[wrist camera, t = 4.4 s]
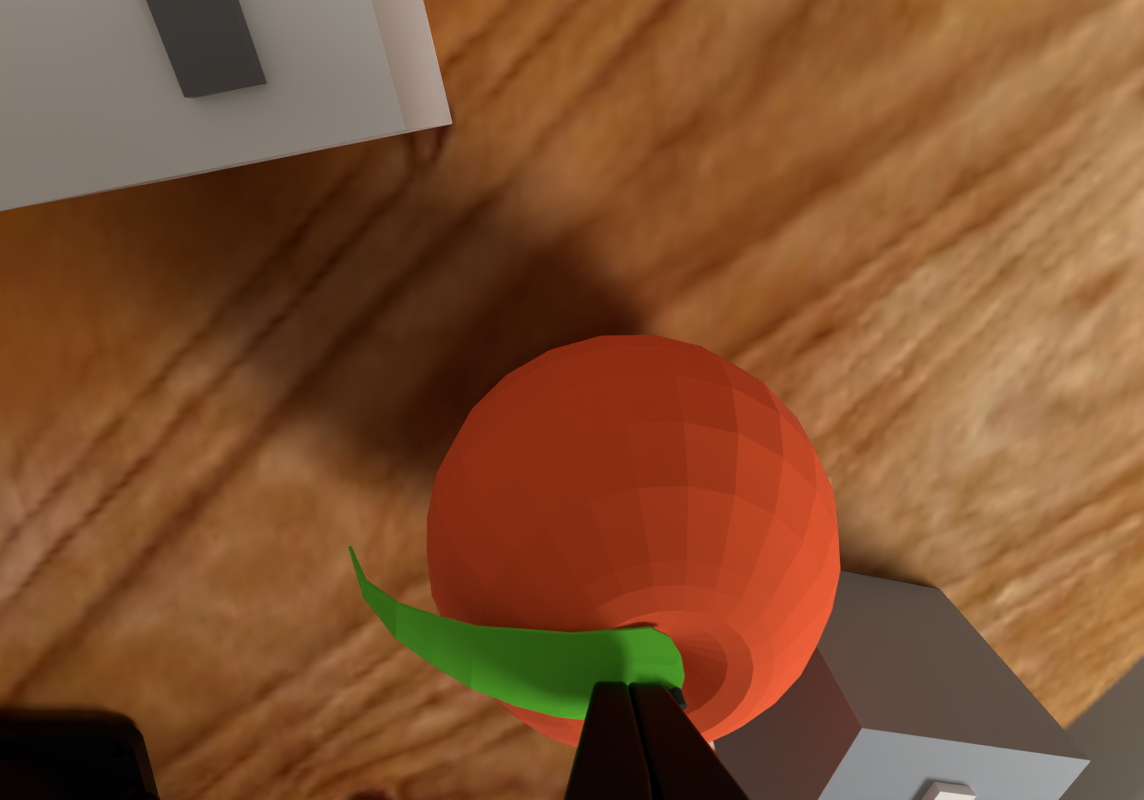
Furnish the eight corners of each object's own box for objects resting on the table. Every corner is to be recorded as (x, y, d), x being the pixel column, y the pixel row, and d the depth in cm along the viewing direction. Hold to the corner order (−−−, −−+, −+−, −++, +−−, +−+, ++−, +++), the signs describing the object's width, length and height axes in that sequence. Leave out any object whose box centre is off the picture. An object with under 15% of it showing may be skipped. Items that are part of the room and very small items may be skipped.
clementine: (396, 552, 15) (301, 876, 9) (403, 263, 12) (272, 424, 6) (719, 573, 16) (849, 880, 10) (792, 308, 13) (1041, 488, 7)
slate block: (699, 696, 18) (762, 905, 13) (766, 554, 16) (867, 737, 11) (857, 719, 19) (969, 922, 14) (938, 586, 17) (1099, 770, 12)
